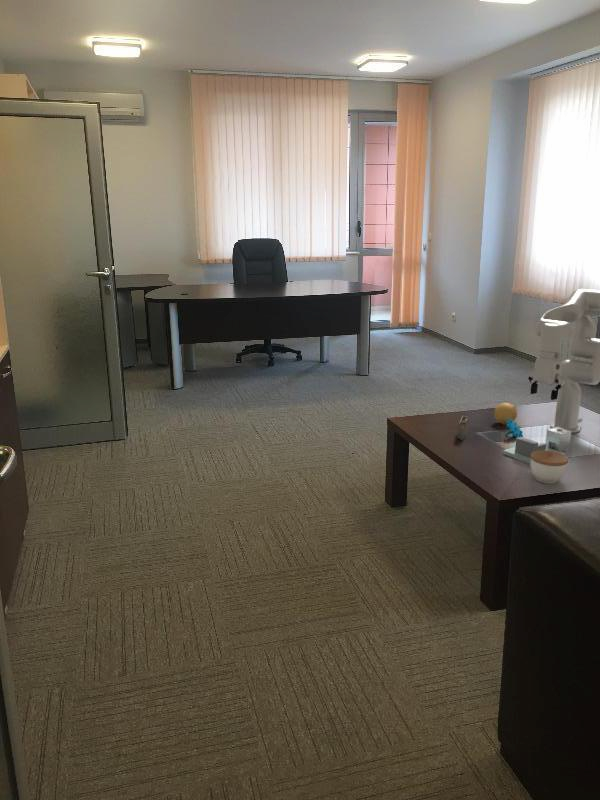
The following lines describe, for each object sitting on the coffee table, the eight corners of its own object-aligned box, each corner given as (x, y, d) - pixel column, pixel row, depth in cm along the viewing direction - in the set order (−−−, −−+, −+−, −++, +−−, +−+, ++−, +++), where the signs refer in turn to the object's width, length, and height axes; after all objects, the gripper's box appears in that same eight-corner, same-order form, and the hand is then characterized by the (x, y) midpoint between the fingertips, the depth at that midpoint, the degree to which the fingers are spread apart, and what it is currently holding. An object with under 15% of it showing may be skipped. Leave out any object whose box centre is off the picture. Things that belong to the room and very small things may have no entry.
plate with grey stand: (531, 445, 270) (533, 428, 268) (565, 457, 257) (567, 439, 255) (502, 453, 260) (504, 436, 258) (536, 466, 247) (539, 448, 245)
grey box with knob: (555, 444, 271) (557, 426, 269) (568, 449, 266) (571, 430, 264) (544, 447, 267) (547, 428, 265) (558, 452, 262) (561, 433, 260)
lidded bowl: (535, 470, 244) (538, 442, 240) (569, 479, 236) (573, 450, 233) (522, 480, 234) (526, 451, 231) (558, 489, 226) (562, 460, 223)
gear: (518, 438, 273) (505, 418, 276) (507, 446, 276) (494, 426, 279) (528, 436, 281) (515, 416, 284) (517, 443, 284) (505, 424, 288)
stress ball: (496, 428, 294) (514, 418, 288) (486, 409, 297) (504, 398, 291) (506, 427, 301) (524, 417, 295) (497, 408, 304) (514, 398, 298)
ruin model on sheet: (464, 441, 275) (466, 419, 272) (457, 440, 276) (459, 418, 273) (468, 433, 285) (470, 412, 283) (461, 432, 286) (463, 411, 284)
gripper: (573, 358, 251) (568, 400, 256) (536, 349, 265) (532, 390, 270) (561, 360, 247) (555, 403, 252) (524, 351, 261) (519, 392, 266)
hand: (543, 396), depth 261 cm, fingers open, 9 cm apart
